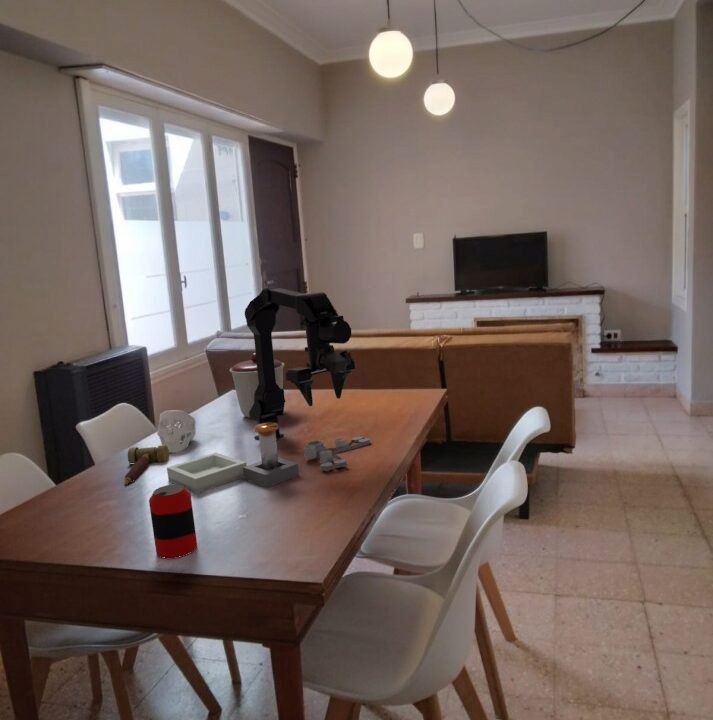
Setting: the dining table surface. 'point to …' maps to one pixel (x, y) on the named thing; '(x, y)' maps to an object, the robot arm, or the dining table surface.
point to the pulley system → (325, 455)
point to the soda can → (172, 521)
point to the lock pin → (268, 445)
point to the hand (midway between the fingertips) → (324, 402)
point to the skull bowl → (176, 430)
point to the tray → (206, 472)
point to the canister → (251, 381)
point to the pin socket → (271, 473)
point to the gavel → (144, 459)
